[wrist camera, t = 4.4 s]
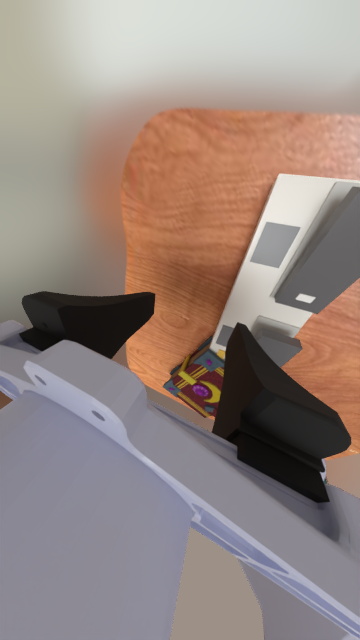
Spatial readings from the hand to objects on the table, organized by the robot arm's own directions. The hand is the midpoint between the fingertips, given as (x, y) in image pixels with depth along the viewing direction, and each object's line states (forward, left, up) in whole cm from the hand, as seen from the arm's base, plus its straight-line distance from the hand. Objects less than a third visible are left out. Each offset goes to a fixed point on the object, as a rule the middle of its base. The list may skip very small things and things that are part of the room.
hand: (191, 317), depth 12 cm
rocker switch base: (-7, -1, -9) cm, 11 cm away
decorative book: (-5, +17, -10) cm, 21 cm away
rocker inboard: (-8, +5, -6) cm, 12 cm away
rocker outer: (-8, -6, -6) cm, 12 cm away
